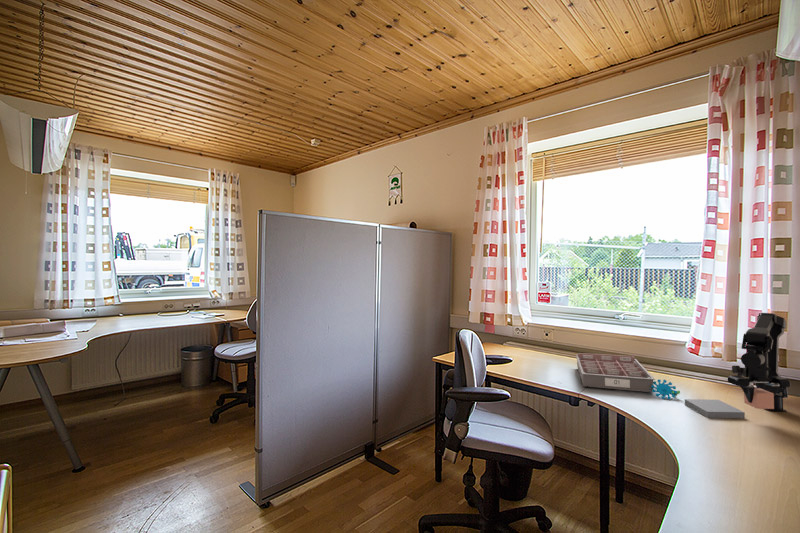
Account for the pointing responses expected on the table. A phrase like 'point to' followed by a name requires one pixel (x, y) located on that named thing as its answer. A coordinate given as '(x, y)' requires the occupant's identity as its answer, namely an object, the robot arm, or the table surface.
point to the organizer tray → (613, 372)
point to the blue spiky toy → (664, 389)
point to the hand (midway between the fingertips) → (758, 402)
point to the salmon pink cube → (761, 399)
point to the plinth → (714, 408)
